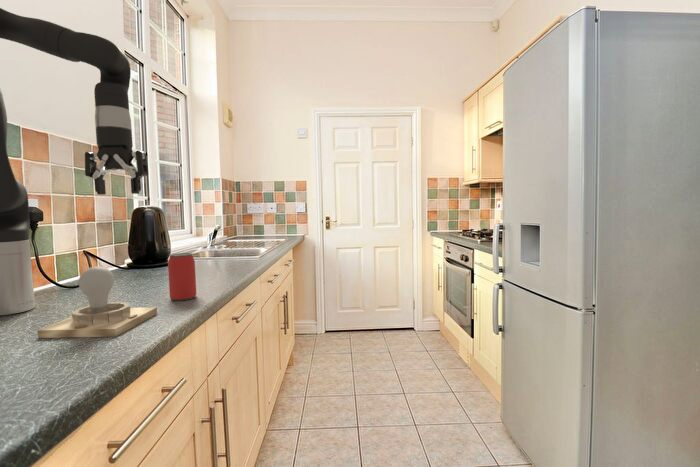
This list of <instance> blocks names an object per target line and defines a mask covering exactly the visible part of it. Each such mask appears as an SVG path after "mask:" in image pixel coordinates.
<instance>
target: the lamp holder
mask: <svg viewBox="0 0 700 467" xmlns="http://www.w3.org/2000/svg"><path fill="white" fill-rule="evenodd" d="M157 314H158V308H157V307H156V306H154V307H131V304H130V303H129V302H125V301H123V302H122V301H119V302H117V301H115V302H107V305H106V312H104V313H97V314H92V312H91V307H90V306H89V305H87V306H83V307H80V308H78V309H75V310H73V311H72V313H71V316H70V317H68V318H65V319H63V320H60V321H58V322H55V323H53V324H50V325H47V326H45V327H42V328H40V329H38V330H37V338H38V339H46V338H48V339H49V338H50V339H51V338H53V339H54V338H55V339H57V338H60V339H61V338H94V337H95V338H97V337H98V338H102V337H103V338H104V337H105V338H106V337H108V338H110V337H111V338H112V337H113V338H115V337H118V336H119V335H121V334H124V333H125V332H127V331H128V330H130V329H133V328H134V327H136V326H137V325H140V324H141V323H143V322H145V321H147V320H149V319H150V318H152V317H154V316H157Z"/></svg>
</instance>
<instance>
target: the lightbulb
mask: <svg viewBox="0 0 700 467" xmlns="http://www.w3.org/2000/svg"><path fill="white" fill-rule="evenodd" d="M114 284H115V278H114V275H113V272H112V271H110V270H109V269H108V268H106V267H104V266H91V267H88V268H87V269H85V270H83V272H82V273H81V275H80V276H79V278H78V286H79V289H80V290H81V292H82V293H83V294H84V295H85V296H86V299H87V302H88V306H90V307H91V312H92V314H97V313H104V312H106V305H107V303H108V298H109V294H110V293H111V290H112V288H113V286H114Z"/></svg>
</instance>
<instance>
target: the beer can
mask: <svg viewBox="0 0 700 467" xmlns="http://www.w3.org/2000/svg"><path fill="white" fill-rule="evenodd" d="M167 271H168V273H167V274H168V289H169V299H171V300H172V301H176V302H177V301H178V302H179V301H180V302H182V301H188V300H192V299H194V298H196V297H197V280H196V261H195V258H194V256H193V253H192V252H179V253H178V252H177V253H172V254H170V255H169V258H168V261H167Z"/></svg>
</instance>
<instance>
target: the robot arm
mask: <svg viewBox="0 0 700 467" xmlns="http://www.w3.org/2000/svg"><path fill="white" fill-rule="evenodd" d="M0 39H3V40H6V41H7V40H8V41H10V42H14V43H18V44H21V45H24V46H26V47H29V48H32V49H35V50H37V51H41V52H43V53H46V54H49V55H52V56H54V57H56V58H60V59H63V60H66V61H69V62H74V63H79V62H82V63H85V64H88V65H90V66H92V67H95V68H97V69H98V70H99V72H100V73H99V74H100V79H99V80H100V81H99V82H97V83H96V84H95V85H94V107H95V111H94V121H95V122H94V125H95V126H94V127H95V137H96V140H95V141H96V146H97V148H98V150H97V152H90V151H85V152H84V175H85V177H89V178H91V179H93V180H94V192H95V193H97V195H101V196H104V195H106V181H105V179H104V178H105V177H106V176H107V174H108V173H110V171H111V170H112V171H117V170H123V171H125V172H127V173H128V174H129V176H130V177H131V178H130V190H131V191H130V192H131V194H133V195H134V194H135V195H139V194H140V192H141V191H142V184H141V183H142V182H141V179H142V178H143V177H147V176H148V175H149V170H148V160H147V159H148V158H147V155H146V152H145V151H141V150H135V151H134V150H133V146H134V145H133V134H132V133H133V131H132V119H131V114H130V106H129V105H130V102H129V94H128V93H129V89H130V83H131V72H132V70H131V64H130V60H129V58H128V56H127V55H126V54H125V53H124V52H123V50H121V49H120V48H119V46H117V44H115V43H114V42H112V41H111V40H110V39H108V38H105V37H103V36H99V35H97V34H92V33H87V32H79V31H76V30H74V29H71V28H68V27H67V26H63V25H60V24H57V23H55V22H51V21H49V20H45V19H40V18H35V17H29V16H23V15H19V14H15V13H13V12H10V11H7V10H6V9H4V8H2V7H0ZM7 139H8V117H7V110H6V105H5V100H4V95H3V92H2V90H1V88H0V316H8V315H13V314H17V313H23V312H28V311H30V310H33V309H35V308H36V303H35V290H34V280H33V278H34V277H33V269H32V266H33V265H32V256H31V245H30V226H31V225H30V221H31V220H30V206H29V195H28V192H27V188H26V186H25V185H24V184H23V182H21V181H20V180H18V179H17V178H16V176H15V174H14V172H13V169H12V165H11V161H10V158H9V155H8V149H7V148H8V147H7ZM133 160H135V161H136V166H135V165H134V164H133V162H132V161H133ZM98 161H99V163H98ZM97 163H98V164H97Z"/></svg>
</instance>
